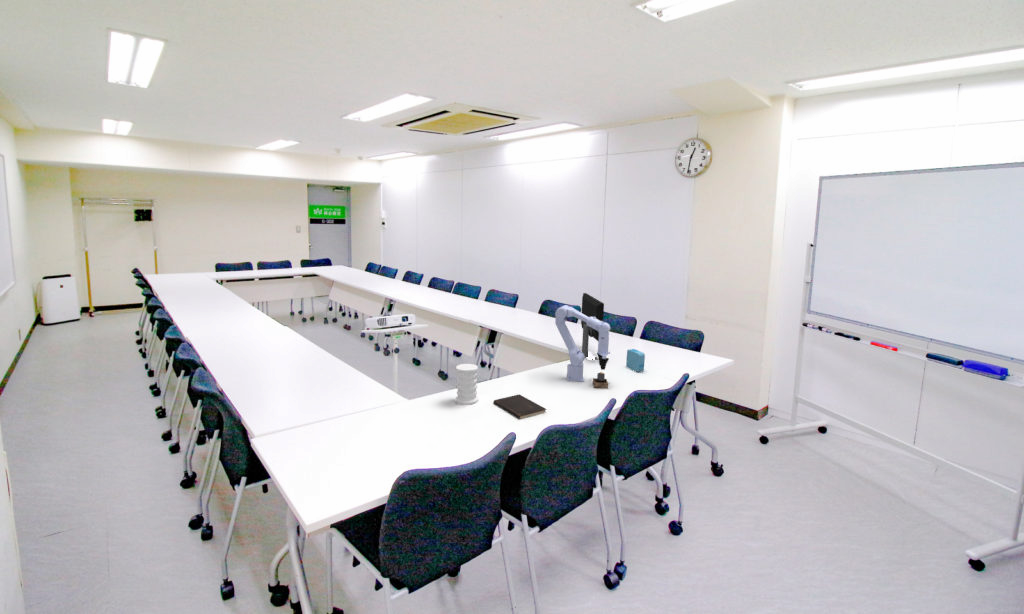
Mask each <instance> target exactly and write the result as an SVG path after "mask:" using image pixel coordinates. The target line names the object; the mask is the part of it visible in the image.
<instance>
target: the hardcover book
mask: <svg viewBox="0 0 1024 614" xmlns="http://www.w3.org/2000/svg"><path fill="white" fill-rule="evenodd" d="M492 404H493V405H495V406H497V407H498V408H500V409H502V410H503V411H505V412H506V413H509V415H512V417H513V416H514V418H516V419H518V420H519V419H520V420H522V418H523V419H526V418H529V416H530V417H533V415H534V416H537V415H541V414H544V412H545V413H546V410H547V409H546V408H545V407H543V406H541V405H540V404H537V402H534V401H532V400H530V399H529V398H527V397H526V396H523V395H522V394H514V395H511V396H506V397H502V398H499V399H498V398H497V399H494V400H493V402H492ZM540 413H541V414H540ZM536 414H537V415H536ZM525 417H526V418H525Z"/></svg>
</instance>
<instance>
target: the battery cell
mask: <svg viewBox="0 0 1024 614" xmlns="http://www.w3.org/2000/svg"><path fill="white" fill-rule="evenodd" d="M605 374H606V373H604V372H597V374H596V375H597V376H596V377H597V383H604V379H606V377H605Z"/></svg>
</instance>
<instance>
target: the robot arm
mask: <svg viewBox="0 0 1024 614" xmlns="http://www.w3.org/2000/svg"><path fill="white" fill-rule="evenodd" d="M554 316H555V320H554V322H555V323H554V324H555V326H556V328H557V331H558V332H559V334H560V336H561V338H562V341H563V342H564V344H565V346H566V348H567V350H568V357H569V363H568V364H566V365H567V368H566V370H567V371H566V380H567V382H585V379H584V360H586V359H585V355H584V354H583V353H582V352H581V351H582V350H581V349H580V348H579V347H578V346H577V344H576V342H575V339H574V338H573V336H572V334H571V332H570V330H569V328H568V326H567V325H566V322H567V319H568V318H572V317H574V318H576V319H577V320H580V321H581V320H582V321H584V322H586V324H587V326H589V327H591V328H593V329H595V330H598V332H599V340H598V341H597V342H598V343H597V353H596V354H597V355H596V356H597V358H598V359H599V360H598V365H599V367H600V370H602V371H605V370H606V366H607V364H608V362H609V360H610V359H609V357H607V356H608V354H611V351H609V344H610V342H609V341H610V331H611V324H609V323H608V322H606V321H604V320H603V321H600V320H598V319H596V317H587V316H586V315H584V314H582V311H581V312H580V311H579V310H578V309H575V308H574V307H573V306H569V305H567V304H565V305H562V306H560V307H558V308H557V309H556V311H555V313H554Z"/></svg>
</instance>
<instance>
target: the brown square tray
mask: <svg viewBox="0 0 1024 614" xmlns="http://www.w3.org/2000/svg"><path fill="white" fill-rule="evenodd" d="M592 385H594V386H593V388H594V389H609V382H608V379H607V378H604V383H597V378H594V377H593V378H592Z"/></svg>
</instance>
